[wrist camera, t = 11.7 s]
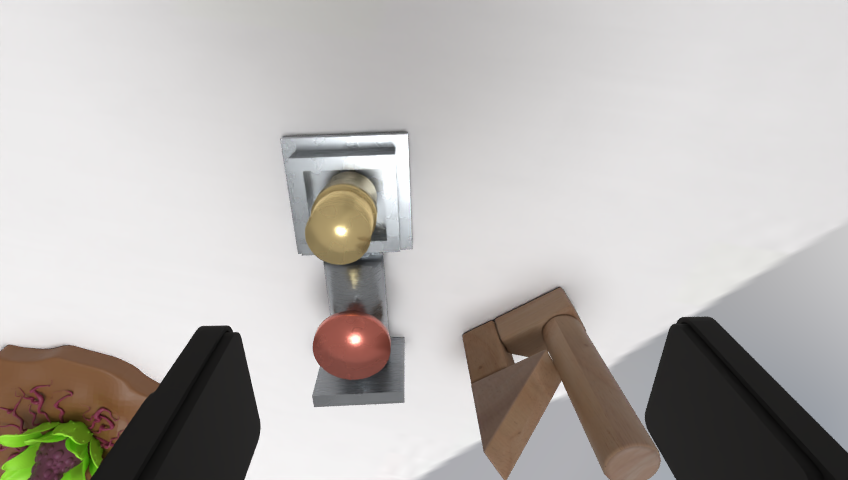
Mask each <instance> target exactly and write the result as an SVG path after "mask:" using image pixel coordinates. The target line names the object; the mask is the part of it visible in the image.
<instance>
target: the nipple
mask: <svg viewBox="0 0 848 480" xmlns="http://www.w3.org/2000/svg"><path fill="white" fill-rule="evenodd" d="M376 203H377V193H376V189H375V187H374V185H373V184H372V182H371V181H370V180H369V179H368V178H367V177H365V176H364V175H362V174H360V173H357V172H352V171H347V172H341V173H339V174H337V175H335V176H333V177H332V178H331V179H330V180H329V181H328V183H327V184H326V186H325V187H324V188H323V189H322V190H321V191H320V193H319V194H318V196H317V198H316V200H315V202H314V204H313V206H312V209H311V216H310V218H309V220H308V222H307V224H306V228H305V238H306V242H307V245H308V247H309V248H310V250H311V251H312V252H313V254H314V255H316V256H317V257H318V258H319V259H321V260H323V261H325V262H327V263H331V264H336V265H344V264H349V263H352V262H354V261H357V260H358V259H360V258H361V257H362V256H363V255H364V254H365V253H366V251H367V250H368V248H369V245H370V242H371V235H372V233H373V231H374V229H375V226H376V220H377V212H378V209H377V204H376Z"/></svg>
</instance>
